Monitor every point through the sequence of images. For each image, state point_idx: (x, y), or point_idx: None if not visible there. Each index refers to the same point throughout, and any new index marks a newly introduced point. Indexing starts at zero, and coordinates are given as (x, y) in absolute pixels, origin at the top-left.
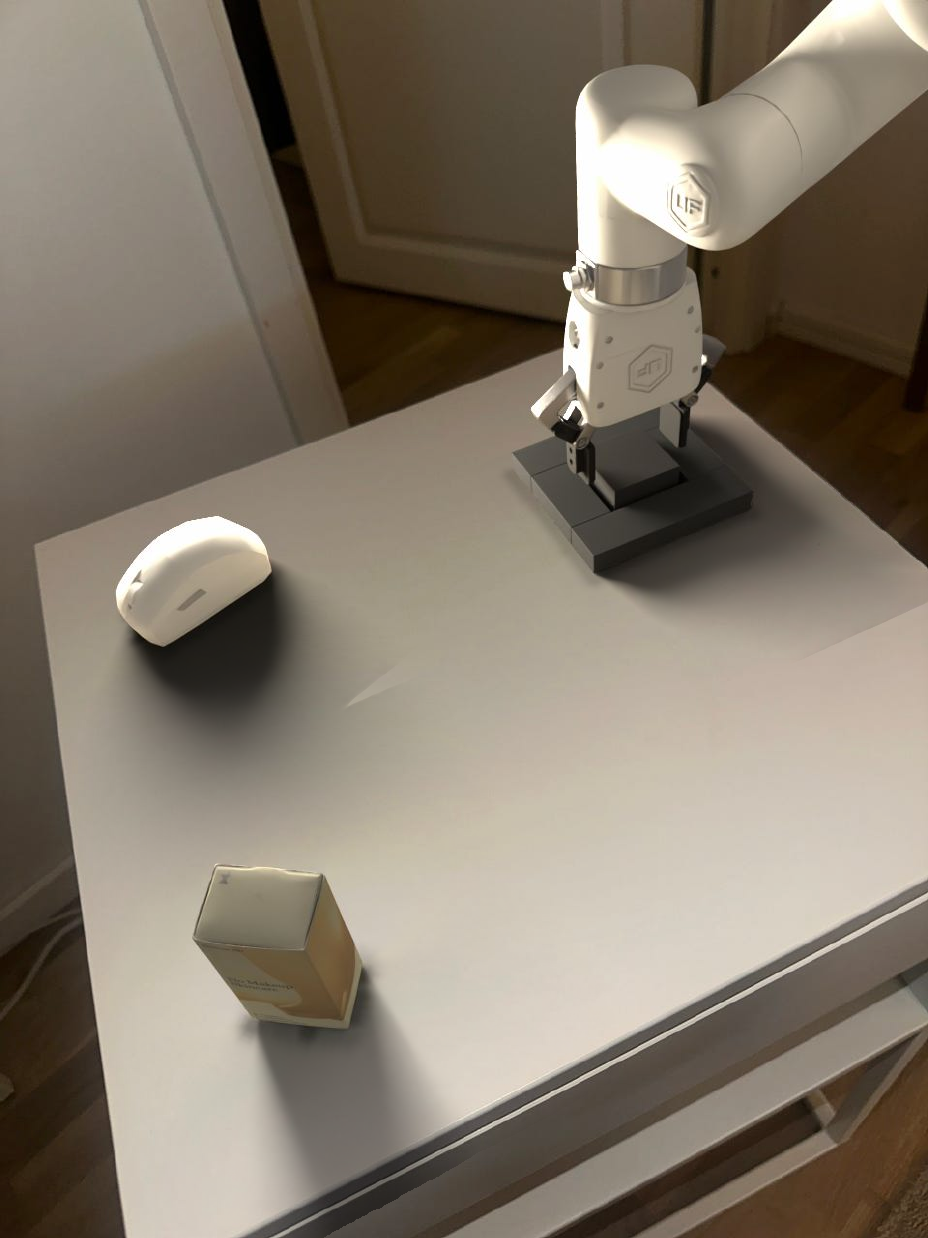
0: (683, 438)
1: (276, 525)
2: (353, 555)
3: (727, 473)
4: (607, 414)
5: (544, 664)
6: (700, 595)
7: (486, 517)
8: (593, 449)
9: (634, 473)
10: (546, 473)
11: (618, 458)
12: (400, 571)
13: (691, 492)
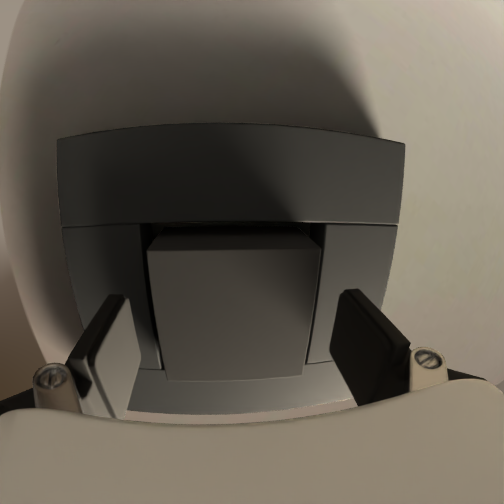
0: (109, 306)
1: (488, 360)
2: (492, 313)
3: (70, 204)
4: (483, 414)
5: (468, 79)
6: (268, 16)
7: (414, 317)
8: (393, 341)
9: (250, 279)
10: None
11: (254, 332)
12: (490, 278)
13: (153, 187)
